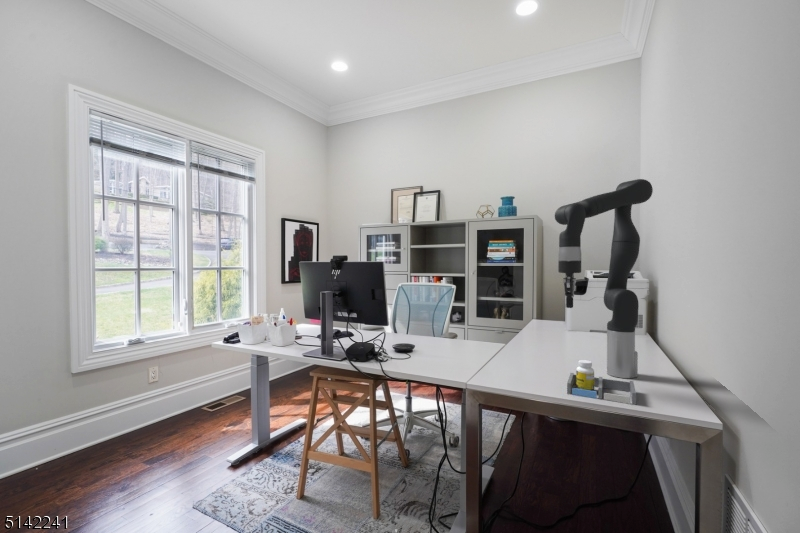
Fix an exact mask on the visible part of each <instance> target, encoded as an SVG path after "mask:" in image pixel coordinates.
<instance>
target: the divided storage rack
mask: <svg viewBox="0 0 800 533" xmlns="http://www.w3.org/2000/svg"><path fill="white" fill-rule="evenodd" d="M566 383H567V384H566V394H567V395H571V394H572V395H573V396H579V397H585V398H586V397H587V398H591V399H599V400H602V399H603V400H604V401H611V402H616V403H617V402H618V403H622V404H623V403H624V404H629V405H630V404H632V405H634V406H635V405H637V390H636V387H635V383H634V380H629V381H623V380H622V381H621V380H617V379H616V380H615V379H608V378H603V376H598V377H597V376H596V377H595V376H594V388H595V387H596V388H598V391H595V390H594V391H590V390H584V389H577V388H576V387H573V386H574V384H575V385H576V374H575V373H574V372H570V374H569V377H568V379H567V382H566ZM603 389H610V390H617V391H623V392H628V393H629V395H630V396H628V395H621V394H616V393H609V392H608V393H607V392H603ZM597 392H598V393H597ZM597 394H598V395H597ZM597 397H598V398H597Z"/></svg>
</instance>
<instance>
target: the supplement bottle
mask: <svg viewBox="0 0 800 533" xmlns="http://www.w3.org/2000/svg"><path fill="white" fill-rule="evenodd" d="M592 366H593V362H592V361H590V360H587V359H586V360H585V359H579V360H578V366H577V367H576V368H575V369H576V374H575V375H576V384H575V385H576V386H575V388H577V389H584V390H590V391H595V386H594V377H595V369H594V368H593V367H592Z"/></svg>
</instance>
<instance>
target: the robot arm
mask: <svg viewBox="0 0 800 533" xmlns="http://www.w3.org/2000/svg"><path fill="white" fill-rule="evenodd" d="M653 191H654V189H653V185H652V183H651V182H650V181H649V180H647V179H643V178H636V179H634V180H629V181H624V182H621V183H619V184H618V185H617V186H616V188H615V190H613V191H609V192H603V193H602V194H601V193H600V194H597V195H593V196H590V197H588V198H585V199H583V200H580V201H579V200H578V201H577V202H573V203H572V202H571V203H568V204H564V205H562V206H560V207H558V208H557V210H556V211H555V212H554V220H555V221H556V223H557V224H559V225H563V226H566V229H565V230H563V231H561V232H560V233H559V235H558V236H559V238H558V246H559V247H558V256H557V257H558V259H557V260H558V268H557V270H558V273H560V274H565V277H563V279H562V281H563V282H562V283H563V290H564V297H565V303H566V304H565V308H567V309H573V308H574V297H575V291H576V283H577V278H575V274H580V273H582V248H581V236H582V232H583V229H584V225H585V221H586V219H589V218H593V217H596V216H598V215H600V214H604V213H606V212H609V211H611V210H614V217H613V218H614V222H613V230H612V234H613V235H612V240H611V250H610V258H609V267H608V268H609V269H608V275H607V281H606V286H605V289H604V294H603V304H604V306H605V307H606V308H607V309H608V310H610V311H611V312H612V315H611V316H612V317H611V319H610V320H609V321H608V322H607V323H606V373H607V375H609V376H610V377H615V378H620V379H634V378H638V375H639V374H638V373H639V372H638V366H639V364H638V363H639V362H638V358H639V357H638V356H639V355H638V351H637V350H636V326H637V324H638V321H639V299H638V296H637V294H636V293H635V292H634V291H632V290H630V289H628V279H629V275H630V273H631V271H632V270H633V267H634V266H635V264H636V262H637V260H638V257H639V252H640V246H641V236H640V235H639V232H638V230H637V228H636V227H635V225H634V222H633V219H632V207H633V205H640V204H643V203H645V202H647V201H649V200H650V199H651V197H652V195H653V193H654V192H653Z"/></svg>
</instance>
